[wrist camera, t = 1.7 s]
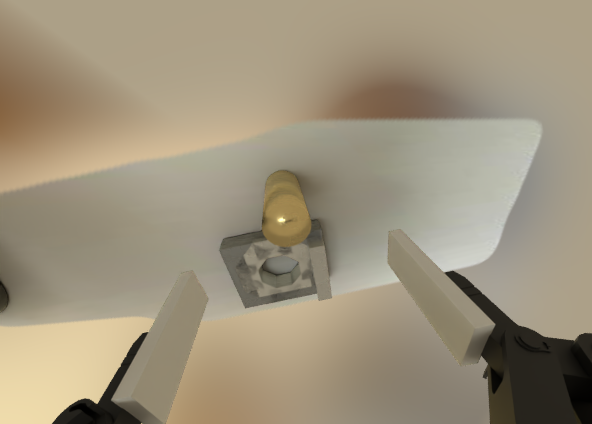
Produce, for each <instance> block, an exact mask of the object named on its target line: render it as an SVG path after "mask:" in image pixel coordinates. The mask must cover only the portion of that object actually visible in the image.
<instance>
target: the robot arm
mask: <svg viewBox="0 0 592 424" xmlns="http://www.w3.org/2000/svg"><path fill="white" fill-rule="evenodd" d="M388 264H389V266H390V267H391V269H392V270H393V271H394V273H395V274H396V276H397V277H398V278H399V280H400V281H401V283H402V284H403V286H404V287H405V288H406V290H407V291H408V293H409V294H410V295H411V297H412V298H413V300H414V301H415V302H416V304H417V305H418V307H419V308H420V310H421V311H422V312H423V314H424V315H425V317H426V318H427V319H428V321H429V322H430V324H431V325H432V327H433V328H434V329H435V331H436V332H437V334H438V335H439V337H440V338H441V339H442V341H443V342H444V344H445V345H446V346H447V348H448V349H449V351H450V352H451V353H452V355H453V356H454V358H455V359H456V361H457V362H458V363H459V365H460V366H466V365H471V364H475V363H478V362H479V360H480V357H481V356H482V357H483V358H484V359H485V360H486V362H487V363H488V365H487V368H486V369H485V371H484V375H483V378H485V379H486V378H487V376H488V391H489V409H490V410H489V411H490V424H592V334H591V333H584V334H581V335H579V336H578V337H577V338H576V340H575V341H573V340H564V339H557V338H548V337H543V336H542V335H540V334H539V333H537V332H535V331H533V330H531V329H529V328H526V327H522V326H518V325H517V324H516V323H515V322H513V321H512V320H511V319H510V318H509V317H508V316H506V314H505V313H503V312H502V311H501V310H500V309H499V308H498V307H497V306H496V305H495V304H494V303H492V302H491V301H490V300H489V299H488V298H487V297H486V296H485V295H483V294H482V293H481V292H480V291H479V290H478V289H477V288H475V287H474V285H473V284H472V283H471V282H470V281H468V280H467V279H466V278H465V277H463V276H461V275H460V274H458V273H456V272H454V271H450V272H445V273H444V272H443V271H442V270H441V269H440V268H439V267H438V266H437V265H436V264H435V263H434V262H433V261H432V260H431V259H430V258H429V257H428V256H427V255H426V254H425V253H424V252H423V251H422V250H421V249H420V248H419V247H418V246H417V245H416V244H415V243H414V242H413V241H412V240H411V239H410V238H409V237H408V236H407V235H406V234H405V233H404V232H403V231H402V230H401V229H398V230H393V231H389V241H388ZM207 302H208V297H207V295H206V293H205V292H204V290H203V288H202V286H201V284H200V283H199V281H198V279H197V277H196V275H195V274H194V272H193V271H188V272H183V273H181V275H180V276H179V278H178V280H177V282H176V284H175V285H174V287H173V289H172V291H171V293H170V294H169V296H168V298H167V300H166V302H165V303H164V305H163V307H162V309H161V311H160V312H159V314H158V316H157V318H156V320H155V321H154V323H153V326H152V327H151V329H150V331H149V332H146V333H142V335H141V336H140V337H139V338H138V339H137V340H136V341H135V342H134V343H133V345H132V347H131V348H130V350H129V352H128V353H127V356H126V357H125V359H124V360H123V362H122V364H121V367H120V368H119V369H118V370H117V372H116V374H115V375H114V377H113V379H112V380H111V382H110V384H109V386H108V387H107V389H106V391H105V392H104V394H103V396H102V397H101V399H100V401H99V402H98V404H96V403H94V402H93V401H92V400H90V399H81V400H78V401H77V402H75V403H73V404H72V405H70V406H69V407H68V408H67V409H65V410H64V411H63V412H62V413H61V414H60V415H59V416H58V417H57V418H56V420H55V421H54V422H53V423H52V424H141V423H142V424H166V421H167V418H168V415H169V413H170V409H171V407H172V404H173V400H174V398H175V395H176V392H177V389H178V386H179V383H180V380H181V378H182V374H183V371H184V369H185V366H186V363H187V360H188V357H189V354H190V351H191V348H192V345H193V342H194V340H195V337H196V334H197V331H198V328H199V325H200V322H201V319H202V316H203V313H204V310H205V307H206V304H207ZM6 305H7V295H6V292H5V290H4V288H3V287H2V285H1V284H0V313H1V312H2V311H3V310H4V309H5V307H6Z"/></svg>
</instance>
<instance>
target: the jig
mask: <svg viewBox="0 0 592 424" xmlns="http://www.w3.org/2000/svg"><path fill="white" fill-rule="evenodd" d="M219 251H220V253H221V255H222V258H223V260H224V262H225V264H226V266H227V269H228V271H229V273H230V275H231V278H232V280H233V282H234V284H235V286H236V289H237V291H238V293H239V295H240V298H241V300H242V302H243V304H244V306H245V308H249V307H254V306H258V305H263V304H268V303H273V302H278V301H283V300H288V299H292V298H297V297H302V296H307V295H312V294H317V295H318V299H319V301H320V300H324V299H330V298H332V294H331V287H330V280H329V273H328V266H327V259H326V252H325V245H324V242H323V235H322V229H321V226H320V224H319V221H318V220H314V221H311V230H310V233H309V235H308V236H307V238H306V239H305V240H304V241H302V242H301V243H299V244H297V245H295V246H290V247H281V246H277V245H274V244H272V243H271V242H269V241H268V240H267V239H266V237H265V236H264V234H263V231H260V232H256V233H251V234H246V235H241V236H236V237H231V238H226V239H223V241H222V244H221V247H220V250H219ZM282 255H285V256H287V257H289V258H291V259H293V260H295V261H298V262H299V264H298V265H297V266H296V267H295V268H294V269H293V271H292V272H291V273H287V274H282V275H277V276H275V275H273V274H271V273H268V272H266V271H264V270H263V269H262V264H263V263H264V262H265V260H266V259H267V258H272V257H277V256H282Z"/></svg>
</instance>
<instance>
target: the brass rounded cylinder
mask: <svg viewBox="0 0 592 424" xmlns="http://www.w3.org/2000/svg"><path fill="white" fill-rule="evenodd" d="M310 230H311V219H310V216H309V213H308V210H307V207H306V204H305V201H304V198H303V195H302V192H301V189H300V186H299V183H298V180H297V178H296V177H295V176H294V175H293V174H292V173H290V172H288V171H277V172H274V173H273V174H271V175H270V176H269V177H268V179H267V181H266V186H265V197H264V208H263V220H262V231H263V234H264V236H265V237H266V239H267V240H268V241H269V242H271V243H272V244H274V245H277V246H281V247H290V246H295V245H297V244H299V243H301V242H302V241H304V240H305V239H306V238H307V236H308V235H309V233H310Z"/></svg>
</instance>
